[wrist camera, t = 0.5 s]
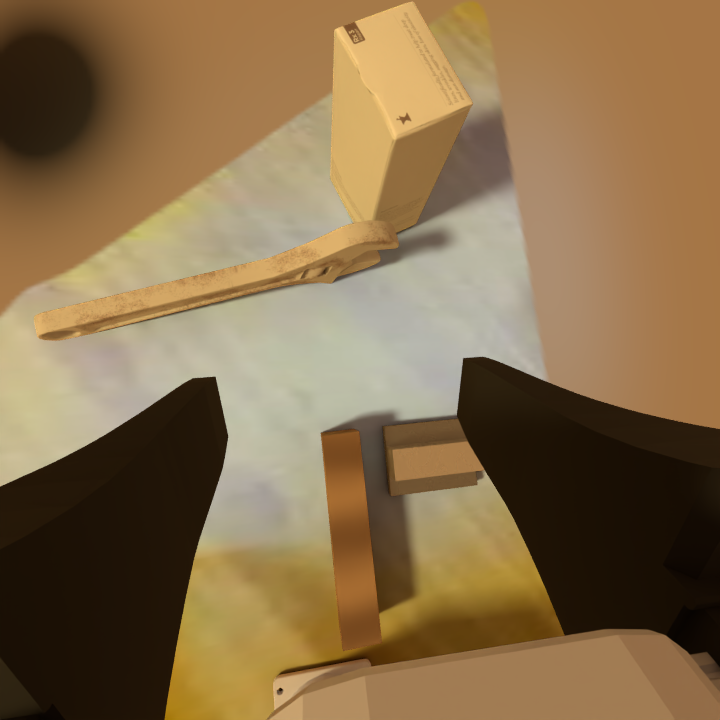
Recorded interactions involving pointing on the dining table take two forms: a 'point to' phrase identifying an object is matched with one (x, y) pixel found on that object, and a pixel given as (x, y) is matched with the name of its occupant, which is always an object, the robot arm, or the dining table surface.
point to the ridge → (428, 457)
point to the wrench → (227, 282)
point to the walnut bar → (350, 539)
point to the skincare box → (391, 115)
